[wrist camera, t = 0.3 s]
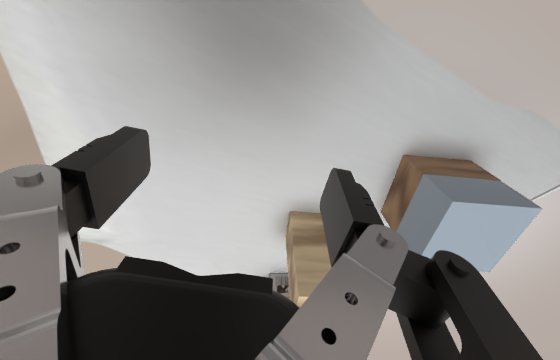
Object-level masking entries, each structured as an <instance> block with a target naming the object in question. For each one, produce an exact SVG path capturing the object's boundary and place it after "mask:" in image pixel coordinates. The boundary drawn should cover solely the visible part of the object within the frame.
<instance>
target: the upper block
mask: <svg viewBox="0 0 560 360" xmlns="http://www.w3.org/2000/svg"><path fill="white" fill-rule="evenodd" d="M541 210H542V208H541V207H539V206H538V205H536V204H535V203H533V202H532V201H530V200H529V199H527V198H526V197H524V196H523V195H521V194H520V193H518V192H517V191H515V190H514V189H512V188H510V187H509V186H507V185H506V184H504V183H503V182H501V181H498V180H486V179H475V178H463V177H452V176H440V175H429V174H423V176H422V179H421V181H420V183H419V185H418V187H417V189H416V191H415V193H414V195H413V197H412V200H411V202H410V204H409V206H408V208H407V210H406V212H405V214H404V216H403V218H402V221H401V223H400V225H399V227H398V229H397V231H396V232H397V233H399V234H400V235H401V236H402V237H403V238H404V239H405V241H406V242H407V244H408V250H410V251H413V252H415V253H418V254H420V255H422V256H425V257H427V258H430V259H431V258H432V257H433V255H434V254H435V253H436V252H437V251H439V250H445V251H450V252H452V253H455V254H457V255H459V256H461V257H462V258H464V259H466V260H467V261H468V262H470V263H471V264H472V265H473V266H474V267H475V268H476V269H477V270H478V272H479V271H480V272H490V271H491V270H492V269H493V268H494V266H495V265H496V264H497V263H498V262H499V260H500V259H501V258H502V257H503V256H504V254H505V253H506V252H507V251H508V250H509V248H510V247H511V246H512V245H513V244H514V242H515V241H516V240H517V239H518V238H519V236H520V235H521V234H522V233H523V232H524V230H525V229H526V228H527V227H528V226H529V224H530V223H531V222H532V220H534V218H535V217H536V216H537V215H538V213H539V212H540V211H541Z"/></svg>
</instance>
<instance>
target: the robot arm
mask: <svg viewBox="0 0 560 360" xmlns="http://www.w3.org/2000/svg"><path fill="white" fill-rule="evenodd" d="M150 165H151V162H150V149H149V136H148V133H147V131H146V130H143V129H138V128H133V127H128V126H125V127H123V128H121V129H120V130H118V131H116V132H115V133H113V134H111V135H108V136H104V137H101V138H97V139H95V140H93V141H92V142H90V143H88V144H87V145H86V146H83V147H82V148H80V149H78V151H75V152H73V153H72V154H70V155H68V156H67V157H65V158H63V159H62V160H60V161H58V162H57V163H55V164H53V165H52V166H49V165H26V166H20V167H16V168H12V169H9V170H7V171H4V172H2V173H1V174H0V360H367V357H368V355H369V352H370V350H371V348H372V345H373V343H374V341H375V338H376V336H377V333H378V331H379V329H380V326H381V324H382V321H383V319H384V317H385V314H386V311H387V309H390V310H392V311H395V312H396V313H397V317H398V319H399V323H400V326H401V329H402V331H403V335H404V337H405V340H406V344H407V347H408V349H409V353H410V356H411V359H412V360H543V359H542V358H541V357H540V355H539V354H538V352H537V351H536V350H535V348H534V347H533V345H532V344H531V343H530V341H529V340H528V339H527V337H526V336H525V335H524V333H523V332H522V331H521V329H520V328H519V326H518V325H517V324H516V322H515V321H514V320H513V318H512V317H511V315H510V314H509V313H508V311H507V310H506V309H505V307H504V306H503V305H502V303H501V302H500V300H499V299H498V298H497V296H496V295H495V293H494V292H493V291H492V290H491V288H490V287H489V285H488V284H487V282H486V281H485V280H484V278H483V277H482V276H481V274H480V273H479V272H478V270H477V269H476V268H475V267H474V266H473V265H472V264H471V263H470V262H468V261H467V260H466V259H464V258H462V257H461V256H459V255H457V254H455V253H452V252H450V251H445V250H439V251H437V252H436V253H435V254H434V255H433V257H432V258H431V259H430V258H427V257H425V256H422V255H420V254H418V253H415V252H413V251H410V250H408V244H407V242H406V241H405V239H404V238H403V237H402V236H401V235H400V234H399V233H397V232H396V231H394V230H393V229H391V228H389V227H386V226H384V224H383V222H382V220H381V218H380V216H379V214H378V212H377V210H376V208H375V207H374V204H373V202H372V200H371V198H370V196H369V194H368V192H367V191H366V190H365V189H364V188H363V187H362V186H361V185H360V184H358V183H356V182H355V180H354V178H353V175H352V173H351V171H348V170H343V169H337V168H333V169H332V170H331V172H330V175H329V178H328V180H327V183H326V186H325V188H324V191H323V194H322V197H321V201H320V211H321V216H322V222H323V227H324V232H325V237H326V243H327V248H328V253H329V258H330V264H331V267H332V268H331V269H330V271H329V272H328V273H327V274H326V276H325V277H324V278H323V279H322V281H321V282H320V283H319V284H318V286H317V287H316V288H315V289H314V291H313V292H312V293H311V294H310V296H309V297H308V298H307V299H306V301H305V302H304V303H303V304H302V306H301V307H300V308H299V307H298V306H297V305H296V304H295V303H294V302H293V301H291V300H290V299H288V298H287V297H285V296H284V295H282V294H280V293H278V292H276V291H274V290H273V278H266V277H260V276H253V275H246V274H240V273H236V274H222V275H209V276H197V275H194V274H192V273H189V272H187V271H184V270H182V269H179V268H177V267H174V266H172V265H169V264H167V263H164V262H160V261H153V260H147V259H140V258H133V257H125V258H124V259H123V261H122V262H121V263H120V265H119V266H118V268H113V269H107V270H101V271H97V272H93V273H90V274H86V275H84V269H83V261H82V252H81V244H80V236H79V233H78V231H79V230H80V229H81V228H82V227H88V228H94V229H99V228H100V227H101V226H102V225H103V224H104V223H105V222H106V221H107V220H108V219H109V218H110V216H111V215H112V214H113V213H114V212H115V211H116V210H117V209H118V208H119V207H120V206H121V204H122V203H123V202H124V201H125V200H126V199H127V198H128V197H129V196H130V195H131V194H132V193H133V191H134V190H135V189H136V188H137V187H138V186H139V185H140V184H141V183H142V182H143V181H144V179H145V178H146V177H147V176H148V174H149V171H150ZM449 317H451V319H452V321H453V323H454V325H455V327H456V329H457V331H458V333H459V335H460V338H461V342H462V351H461V353H459V351H458V349H457V347H456V345H455V343H454V341H453V338H452V336H451V334H450V332H449V330H448V328H447V326H446V324H445V321H446V320H447V319H448V318H449Z"/></svg>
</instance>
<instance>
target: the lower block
mask: <svg viewBox="0 0 560 360" xmlns="http://www.w3.org/2000/svg"><path fill="white" fill-rule="evenodd" d="M423 174H429V175H440V176H452V177H463V178H475V179H486V180H498V181H501V180H499V179H498V178H496V177H495V176H493V175H492V174H490V173H489V172H487V171H486V170H484V169H483V168H481V167H480V166H478V165H477V164H475V163H474V162H472V161H468V160H456V159H444V158H432V157H420V156H408V155H403V157H402V160H401V162H400V165H399V168H398V170H397V173H396V175H395V178H394V180H393V183H392V185H391V188H390V190H389V193H388V195H387V198H386V200H385V203H384V205H383V208H382V210H381V213H382V215H383V216H384V218H385V219H386V221H387V223H388V224H389V226H390V228H391V229H393V230H394V231H397V229H398V227H399V225H400V223H401V221H402V218H403V216H404V214H405V212H406V210H407V208H408V206H409V204H410V202H411V200H412V197H413V195H414V193H415V191H416V189H417V187H418V185H419V183H420V181H421V179H422V176H423Z"/></svg>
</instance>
